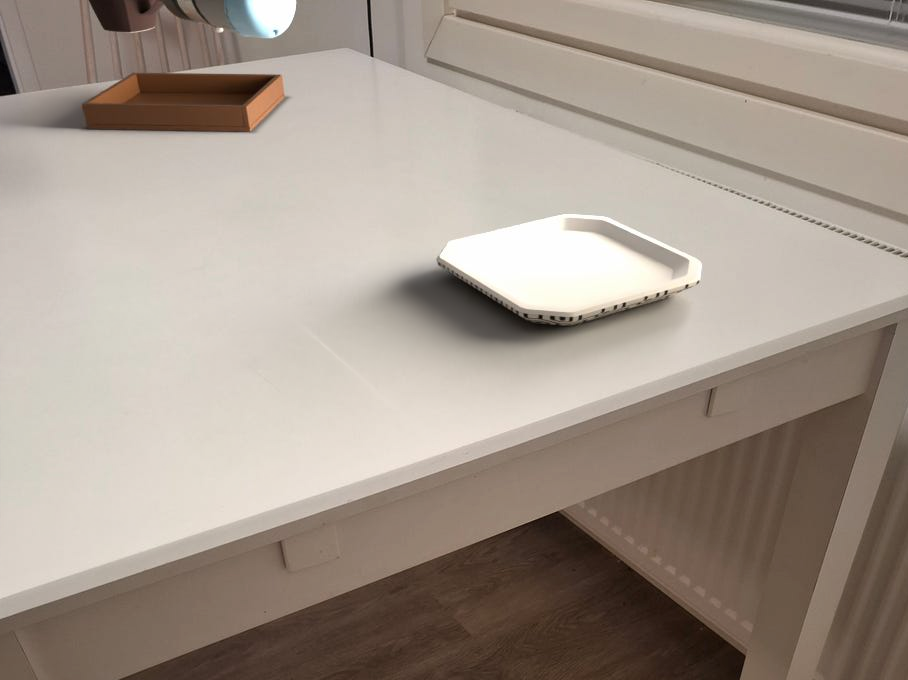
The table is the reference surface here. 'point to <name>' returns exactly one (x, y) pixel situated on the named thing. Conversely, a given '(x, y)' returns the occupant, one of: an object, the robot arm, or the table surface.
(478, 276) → the plate
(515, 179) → the table surface
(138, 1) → the cup
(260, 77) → the tray
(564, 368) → the table surface
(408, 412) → the table surface
